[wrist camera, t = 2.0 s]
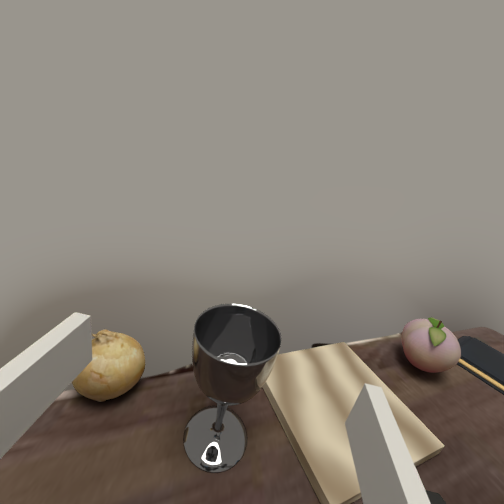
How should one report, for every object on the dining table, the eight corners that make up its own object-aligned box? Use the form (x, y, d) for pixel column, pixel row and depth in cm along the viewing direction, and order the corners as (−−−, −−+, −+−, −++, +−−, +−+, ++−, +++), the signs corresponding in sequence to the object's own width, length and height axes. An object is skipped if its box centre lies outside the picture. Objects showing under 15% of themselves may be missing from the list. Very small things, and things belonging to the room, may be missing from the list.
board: (341, 348, 47) (343, 342, 46) (438, 453, 32) (444, 445, 31) (252, 366, 39) (254, 359, 38) (327, 516, 24) (332, 508, 24)
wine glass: (174, 411, 30) (186, 306, 25) (237, 396, 34) (259, 301, 28) (186, 490, 24) (206, 372, 18) (262, 462, 27) (298, 355, 22)
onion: (152, 361, 36) (155, 321, 34) (130, 415, 29) (131, 369, 26) (93, 355, 35) (91, 313, 33) (55, 409, 28) (48, 361, 26)
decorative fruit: (450, 397, 41) (483, 349, 37) (395, 374, 43) (421, 327, 40) (436, 359, 49) (462, 317, 45) (390, 341, 51) (411, 300, 48)
